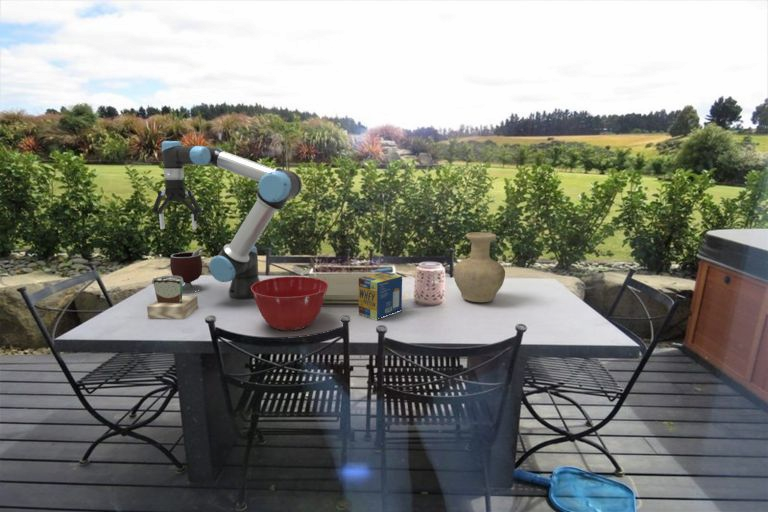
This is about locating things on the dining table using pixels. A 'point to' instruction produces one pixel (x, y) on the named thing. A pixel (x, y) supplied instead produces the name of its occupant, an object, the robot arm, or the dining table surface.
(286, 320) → the mixing bowl
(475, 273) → the vase
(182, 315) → the birch platform
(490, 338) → the dining table surface
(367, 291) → the protein box
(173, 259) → the mate gourd
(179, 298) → the food container
